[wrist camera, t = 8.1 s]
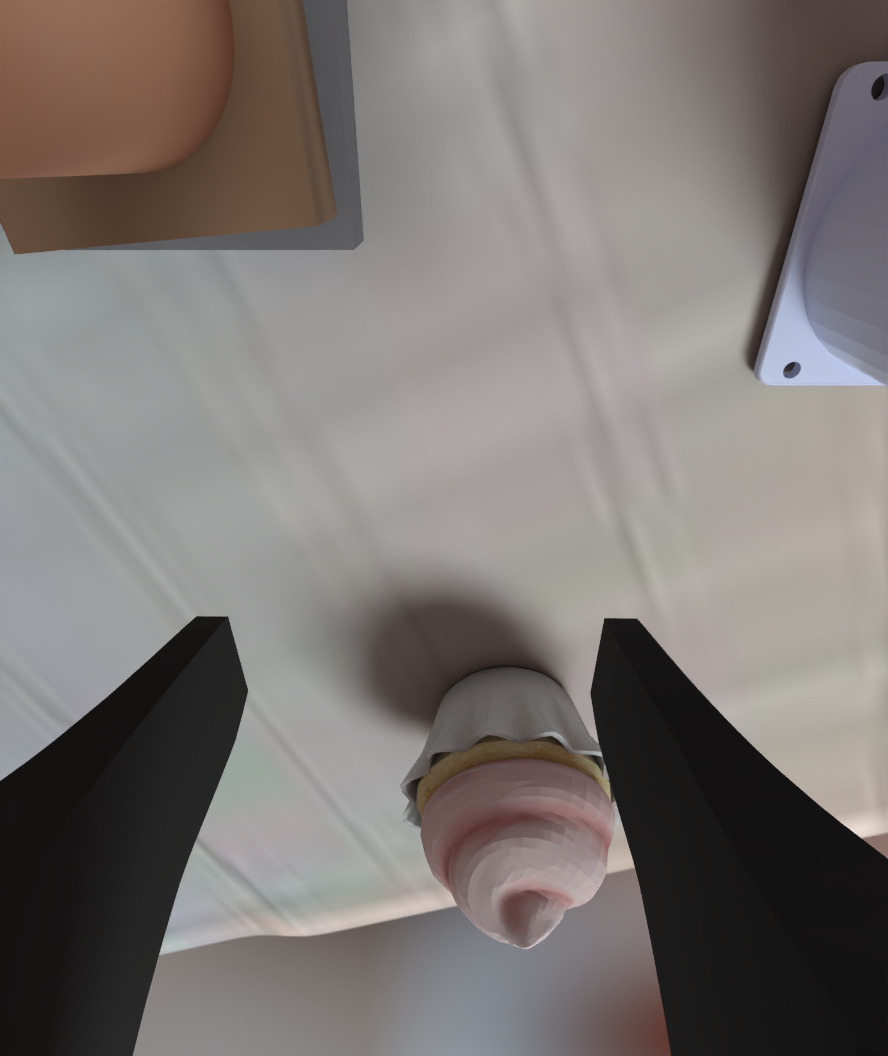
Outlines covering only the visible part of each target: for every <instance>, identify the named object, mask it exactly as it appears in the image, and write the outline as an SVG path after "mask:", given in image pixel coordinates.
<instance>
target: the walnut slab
mask: <svg viewBox="0 0 888 1056" xmlns="http://www.w3.org/2000/svg"><path fill="white" fill-rule="evenodd" d="M228 1H229V5H230V12H231V18H232V25H233V36H234V64H233V75H232V81H231V87H230V92H229V95H228V98H227V102H226V105H225V108H224V110H223V113H222V115H221V117H220V119H219V122H218V124H217V125H216V127H215V128H214V130H213V132H212V133H211V135H210V136H209V138H208V139H207V140H206V141H205V142H204V143H203V145H202V146H201V147H200V148H199V149H198V150H197V151H196V152H194V153H193V154H192V155H191V156H189V157H188V158H187V159H185V160H183V161H182V162H180V163H178V164H176V165H174V166H172V167H169V168H166V169H163V170H160V171H155V172H149V173H139V174H113V175H87V176H61V177H35V178H10V179H0V222H1V225H2V227H3V229H4V231H5V234H6V236H7V238H8V240H9V243H10V245H11V247H12V249H13V252H14V254H23V253H34V252H44V251H55V250H66V249H77V248H87V247H98V246H109V245H120V244H130V243H141V242H152V241H163V240H173V239H184V238H195V237H205V236H216V235H227V234H238V233H248V232H259V231H270V230H281V229H291V228H302V227H313V226H319V225H321V224H322V223H324V222H326V221H328V220H330V219H332V218H334V217H336V216H337V212H336V206H335V199H334V193H333V187H332V181H331V175H330V169H329V162H328V156H327V150H326V144H325V138H324V131H323V125H322V119H321V113H320V107H319V101H318V94H317V88H316V82H315V76H314V70H313V63H312V57H311V51H310V45H309V39H308V33H307V26H306V20H305V14H304V8H303V2H302V0H228Z"/></svg>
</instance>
